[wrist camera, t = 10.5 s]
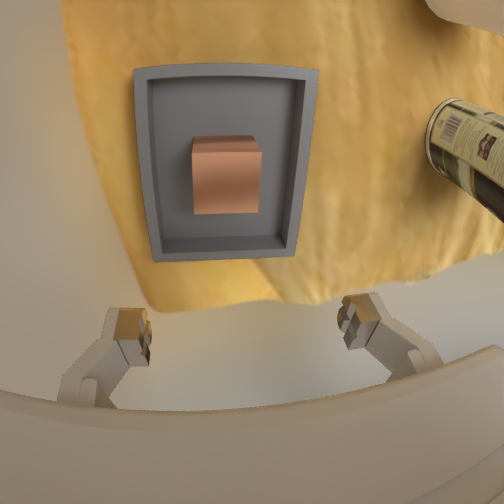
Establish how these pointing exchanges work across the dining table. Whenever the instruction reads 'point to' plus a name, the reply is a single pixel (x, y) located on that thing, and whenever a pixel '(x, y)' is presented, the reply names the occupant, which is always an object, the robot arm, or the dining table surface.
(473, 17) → the foam cup
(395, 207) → the dining table surface
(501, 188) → the coffee can
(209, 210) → the block
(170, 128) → the tray
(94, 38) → the dining table surface
